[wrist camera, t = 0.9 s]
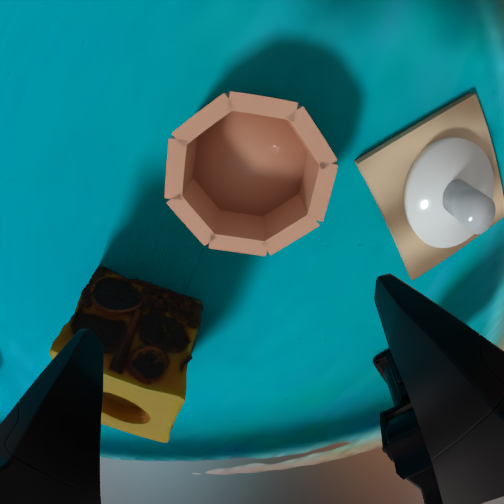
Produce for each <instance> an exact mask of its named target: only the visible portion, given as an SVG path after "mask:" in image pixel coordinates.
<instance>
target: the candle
mask: <svg viewBox="0 0 504 504" xmlns="http://www.w3.org/2000/svg"><path fill="white" fill-rule="evenodd" d="M202 310H203V306H202V304H201V302H200V301H199V300H195V299H193V298H190V297H187V296H184V295H180V294H176V293H174V292H173V291H171V290H167V289H164V288H161V287H158V286H155V285H152V284H150V283H148V282H142V281H139V280H138V279H134V280H128V279H126V278H124V277H122V276H120V275H118V274H116V273H114V272H112V271H110V270H108V269H106V268H104V267H100V266H99V267H98V268H97V269H96V270H95V272H94V274H93V275H92V278H91V279H90V281H89V284H87V285H86V287H85V288H84V289H83V291H82V293H81V297H80V299H79V301H78V304H77V308H76V310H75V314H74V315H73V316H72V317H71V320H70V321H69V322H68V323H67V324H66V325H64V326H63V328H62V330H61V332H60V334H59V335H58V337H57V338H56V339H55V340H54V342H53V344H52V347H51V349H50V355H51V359H52V360H53V359H54V358H55V356H56V355H57V354H58V353H59V352H60V351H61V350H62V348H63V347H64V346H65V345H66V344H67V343H68V342H69V340H70V339H71V338H72V337H73V336H74V335H75V334H76V333H77V332H78V331H79V330H82V329H90V330H92V332H93V333H94V334H95V335H96V337H97V338H98V339H99V340H100V342H101V343H102V345H103V347H104V372H103V401H102V414H101V424H104V425H107V426H110V427H113V428H115V429H119V430H122V431H125V432H128V433H131V434H134V435H138V436H142V437H145V438H149V439H152V440H156V441H159V442H168V440H169V436H170V431H171V429H172V427H173V424H174V421H175V419H176V416H177V414H178V413H179V411H180V409H181V407H182V405H183V404H184V400H185V395H186V371H187V364H188V362H189V361H190V360H191V359H192V356H191V353H192V350H193V347H194V344H195V341H196V337H197V333H198V330H199V327H200V323H201V312H202Z"/></svg>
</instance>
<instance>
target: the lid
mask: <svg viewBox="0 0 504 504" xmlns="http://www.w3.org/2000/svg"><path fill="white" fill-rule="evenodd" d="M493 195H494V175H493V170H492V166H491V163H490V161H489V159H488V157H487V156H486V154H485V153H484V151H483V150H482V149H481V148H480V147H479V146H478V145H476V144H475V143H473V142H471V141H468V140H466V139H463V138H460V137H455V136H447V137H442V138H439V139H437V140H435V141H433V142H431V143H430V144H428V145H427V146H426V147H425V148H424V149H423V150H422V151H421V152H420V153H419V154H418V155H417V157H416V158H415V160H414V161H413V163H412V165H411V167H410V169H409V171H408V173H407V176H406V180H405V183H404V189H403V209H404V214H405V217H406V220H407V222H408V224H409V226H410V227H411V229H412V230H413V231H414V232H415V233H416V234H417V235H418V237H419V238H420V239H421V240H422V241H424V242H425V243H426V244H428V245H430V246H433V247H437V248H449V247H453V246H456V245H459V244H461V243H463V242H464V241H466V240H467V239H469V238H470V237H471V236H472V235H473V234H481V233H484V232H485V231H486V230H487V229H488V228H489V227H490V226H491V224H492V222H493V220H494V217H495V212H496V208H495V203H494V201H493Z"/></svg>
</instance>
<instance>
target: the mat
mask: <svg viewBox="0 0 504 504" xmlns="http://www.w3.org/2000/svg"><path fill="white" fill-rule="evenodd" d="M447 136H455V137H460V138H463V139H466V140H468V141H471V142H473V143H475V144H476V145H478V146H479V147H480V148H481V149H482V150H483V151H484V153H485V154H486V156H487V157H488V159H489V161H490V163H491V166H492V170H493V175H494V195H493V201H494V203H495V208H496V212H495V217H494V220H493V222H492V224H491V226H492V225H494V224H495V223H496V222H497V221H499V220H500V219H501V218H503V217H504V196H503V190H502V185H501V180H500V175H499V170H498V166H497V161H496V157H495V153H494V149H493V145H492V142H491V138H490V135H489V131H488V128H487V125H486V121H485V118H484V115H483V112H482V109H481V106H480V104H479V101H478V98H477V95H476V94H474V93H468V94H467V95H465V96H463V97H461V98H460V99H458V100H456V101H454V102H453V103H451V104H449V105H447V106H446V107H444V108H442V109H441V110H439V111H437V112H435V113H434V114H432V115H430V116H429V117H427V118H425V119H423V120H422V121H420V122H418V123H417V124H415V125H413V126H412V127H410V128H408V129H407V130H405V131H403V132H401V133H400V134H398V135H396V136H395V137H393V138H391V139H390V140H388V141H386V142H385V143H383V144H381V145H380V146H378V147H376V148H375V149H373V150H372V151H370V152H368V153H367V154H365V155H363V156H362V157H360V158H358V159H357V160H355V163H356V165H357V167H358V169H359V170H360V172H361V174H362V176H363V178H364V180H365V182H366V183H367V185H368V187H369V189H370V191H371V193H372V195H373V197H374V199H375V201H376V203H377V205H378V207H379V209H380V211H381V213H382V215H383V217H384V220H385V222H386V224H387V226H388V228H389V230H390V232H391V235H392V237H393V239H394V241H395V244H396V246H397V248H398V251H399V253H400V255H401V258H402V260H403V262H404V265H405V267H406V270H407V272H408V275H409V276H410V278H411V279H412V280H414V279H415V278H417V277H419V276H420V275H422V274H423V273H425V272H427V271H428V270H430V269H431V268H433V267H434V266H436V265H437V264H439V263H440V262H442V261H443V260H445V259H446V258H448V257H449V256H451V255H452V254H454V253H455V252H457V251H458V250H459V249H461V248H462V247H464V246H465V245H466V244H468V243H469V242H471V241H472V240H473V239H475V238H476V237H478V236H479V235H480V234H473V235H472V236H471V237H470V238H469V239H467V240H466V241H464V242H463V243H461V244H459V245H456V246H453V247H449V248H437V247H433V246H430V245H428V244H426V243H425V242H424V241H422V240H421V239H420V238H419V237H418V235H417V234H416V233H415V232H414V231H413V230H412V229H411V227H410V226H409V224H408V222H407V220H406V217H405V214H404V209H403V189H404V183H405V180H406V176H407V173H408V171H409V169H410V167H411V165H412V163H413V161H414V160H415V158H416V157H417V155H418V154H419V153H420V152H421V151H422V150H423V149H424V148H425V147H426V146H427V145H428V144H430V143H431V142H433V141H435V140H437V139H439V138H442V137H447ZM491 226H490V227H491ZM490 227H489V228H490ZM481 234H482V233H481Z"/></svg>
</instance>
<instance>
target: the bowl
mask: <svg viewBox="0 0 504 504" xmlns="http://www.w3.org/2000/svg"><path fill="white" fill-rule="evenodd" d="M172 135H173V136H172V137H170V138H169V141H168V152H167V165H166V179H165V197H164V198H167V199H169V200H168V201H167V204H168V206H169V207H170V208H171V209H172V210H173V211H174V212H175V214H176V215H177V216H178V217H179V218H180V219H181V220H182V222H183V223H184V224H185V225H186V226H187V227H188V228H189V229H190V231H191V232H192V233H193V234H194V235H195V236H196V237H197V238H198V240H199V241H200V242H201V243H202V244H203V245H204V246H205V245H207V244H208V243H209V249H216V250H224V251H231V252H238V253H245V254H252V255H259V256H266V253H267V251H268V253H269V254H270V255H272V254H274V253H276V252H277V251H279V250H281V249H282V248H284V247H286V246H287V245H289V244H291V243H292V242H294V241H295V240H297V239H299V238H300V237H302V236H304V235H305V234H307V233H309V232H310V231H312V230H314V229H315V228H317V227H319V226H320V225H319V223H318V221H322V222H323V220H324V216H325V213H326V209H327V206H328V202H329V199H330V195H331V191H332V188H333V184H334V180H335V176H336V173H337V169H338V164H337V163H335V161H337V158H336V156H335V155H334V153H333V151H332V150H331V148H330V147H329V145H328V143H327V142H326V140H325V139H324V137H323V135H322V134H321V132H320V131H319V129H318V128H317V126H316V125H315V123H314V122H313V120H312V119H311V117H310V116H309V114H308V113H307V111H306V110H305V108H304V107H303V106H301V105H298V103H297V102H293V101H289V100H284V99H279V98H273V97H268V96H262V95H256V94H249V93H242V92H235V91H230V93H223V94H222V95H220V96H219V97H217V98H216V99H215V100H213V101H212V102H211V103H209V104H208V105H207V106H205V107H204V108H203V109H201V110H200V111H199V112H197V113H196V114H195V115H194V116H192V117H191V118H190V119H188V120H187V121H186V122H185V123H183V124H182V125H181V126H180V127H179V128H177V129H176V130H175V131H174V132H172Z"/></svg>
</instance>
